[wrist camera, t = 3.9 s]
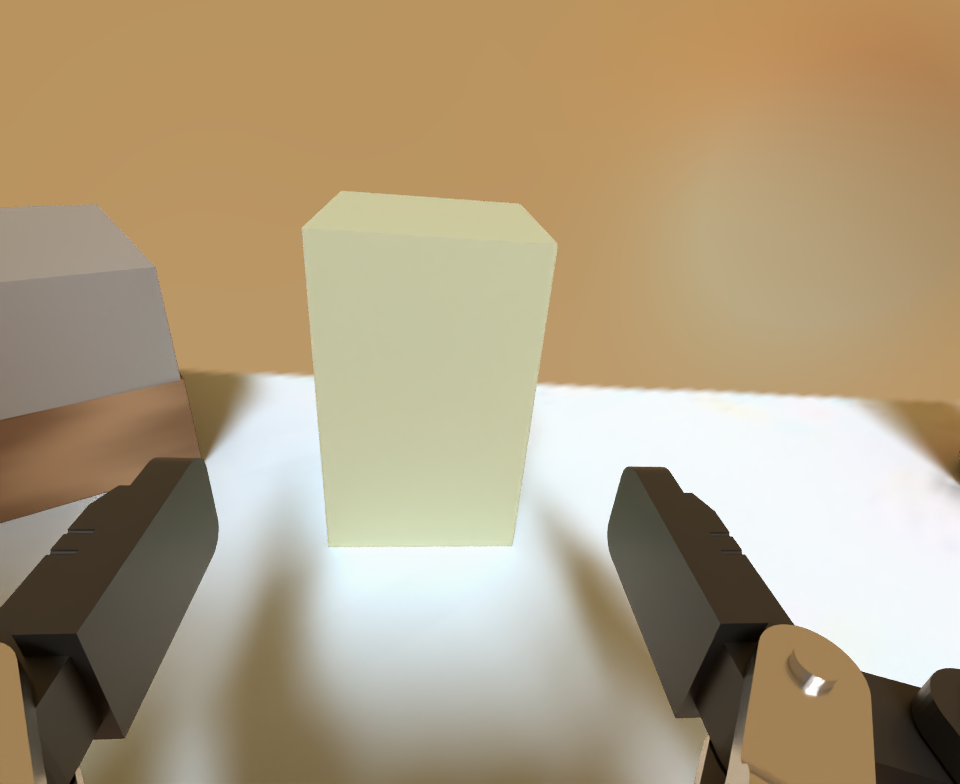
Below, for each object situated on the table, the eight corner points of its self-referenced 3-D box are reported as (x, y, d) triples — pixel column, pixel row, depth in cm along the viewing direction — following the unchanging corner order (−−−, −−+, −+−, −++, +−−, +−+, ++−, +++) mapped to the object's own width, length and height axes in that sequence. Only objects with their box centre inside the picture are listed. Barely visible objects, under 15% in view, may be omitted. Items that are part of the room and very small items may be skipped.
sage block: (328, 547, 16) (301, 227, 12) (352, 441, 22) (341, 190, 17) (512, 546, 17) (558, 243, 12) (493, 443, 22) (519, 203, 18)
